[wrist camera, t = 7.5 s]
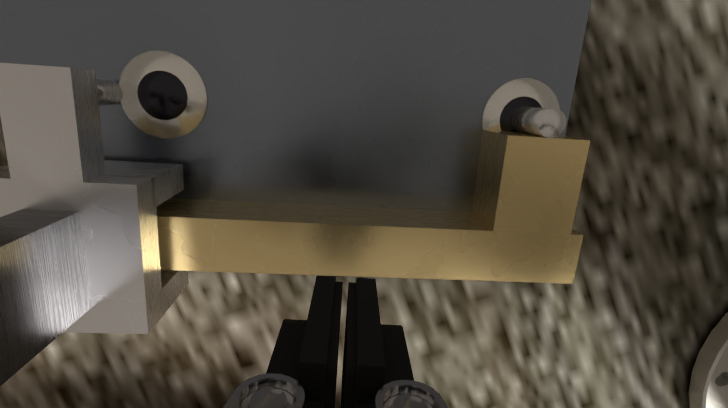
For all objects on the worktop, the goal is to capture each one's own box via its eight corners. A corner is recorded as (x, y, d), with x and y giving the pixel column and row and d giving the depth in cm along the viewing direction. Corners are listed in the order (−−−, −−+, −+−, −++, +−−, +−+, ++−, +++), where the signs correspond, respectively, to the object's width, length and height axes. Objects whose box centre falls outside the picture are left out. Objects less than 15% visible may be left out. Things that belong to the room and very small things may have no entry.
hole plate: (578, -6, 16) (595, -13, 15) (527, 269, 19) (539, 280, 18) (-6, -60, 15) (-34, -72, 13) (40, 252, 18) (21, 262, 16)
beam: (570, 110, 16) (610, 112, 14) (541, 258, 18) (573, 283, 16) (-8, 70, 15) (-75, 65, 12) (19, 238, 16) (-36, 263, 14)
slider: (179, 77, 15) (-23, 54, 6) (189, 282, 17) (46, 462, 9) (35, 67, 14) (-377, 29, 6) (63, 278, 16) (-214, 463, 8)
